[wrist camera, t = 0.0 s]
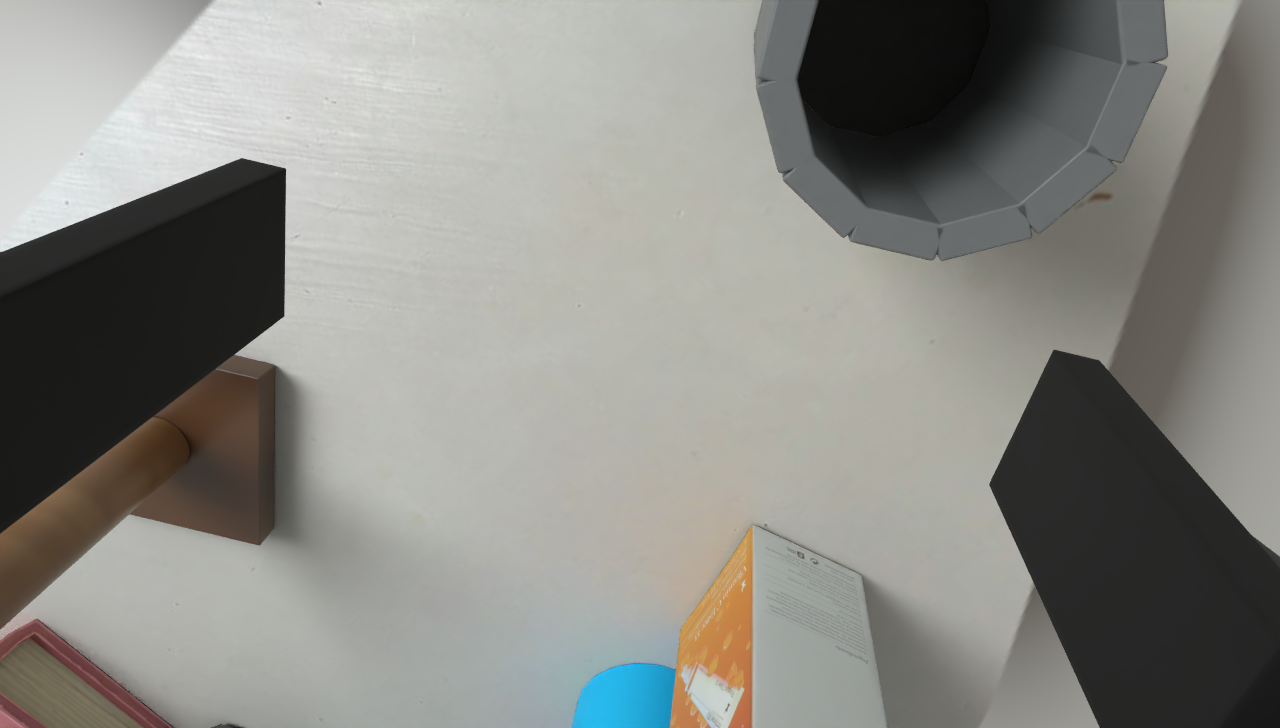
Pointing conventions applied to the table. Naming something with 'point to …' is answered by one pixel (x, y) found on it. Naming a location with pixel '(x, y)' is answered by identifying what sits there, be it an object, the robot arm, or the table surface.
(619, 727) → the mug
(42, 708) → the book
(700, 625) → the small box
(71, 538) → the stand
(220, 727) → the handheld gaming console
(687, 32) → the table surface
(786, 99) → the slatted grey tube
